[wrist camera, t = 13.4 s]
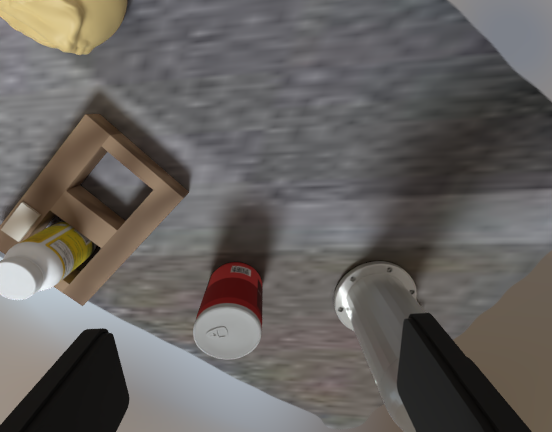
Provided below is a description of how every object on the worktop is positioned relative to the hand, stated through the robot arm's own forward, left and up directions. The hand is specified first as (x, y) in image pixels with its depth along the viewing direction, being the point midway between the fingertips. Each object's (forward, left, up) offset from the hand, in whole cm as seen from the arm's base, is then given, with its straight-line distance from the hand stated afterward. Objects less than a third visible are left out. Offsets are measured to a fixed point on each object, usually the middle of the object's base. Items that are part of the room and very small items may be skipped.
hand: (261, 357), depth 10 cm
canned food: (-9, +15, -32) cm, 36 cm away
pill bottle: (+12, +25, -32) cm, 42 cm away
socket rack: (+12, +20, -31) cm, 39 cm away
